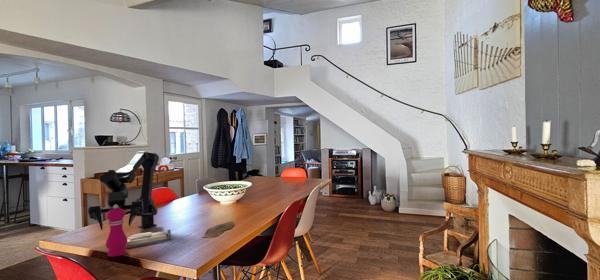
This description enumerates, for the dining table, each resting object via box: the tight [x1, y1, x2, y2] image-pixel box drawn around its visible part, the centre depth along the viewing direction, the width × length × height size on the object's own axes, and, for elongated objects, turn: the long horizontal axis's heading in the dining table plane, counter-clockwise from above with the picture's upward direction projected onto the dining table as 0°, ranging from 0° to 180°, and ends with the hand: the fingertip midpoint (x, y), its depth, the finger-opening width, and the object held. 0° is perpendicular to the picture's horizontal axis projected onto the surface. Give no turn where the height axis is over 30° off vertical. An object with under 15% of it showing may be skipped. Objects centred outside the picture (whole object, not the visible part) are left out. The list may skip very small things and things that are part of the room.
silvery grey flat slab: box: [125, 229, 172, 249], centre depth 121 cm, size 8×20×2 cm, turn 118°
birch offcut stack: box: [125, 230, 167, 246], centre depth 121 cm, size 8×16×2 cm, turn 118°
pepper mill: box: [105, 204, 128, 258], centre depth 109 cm, size 7×7×20 cm
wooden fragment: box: [202, 220, 236, 239], centre depth 136 cm, size 26×11×1 cm, turn 161°
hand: (115, 227), depth 108 cm, fingers open, 9 cm apart
